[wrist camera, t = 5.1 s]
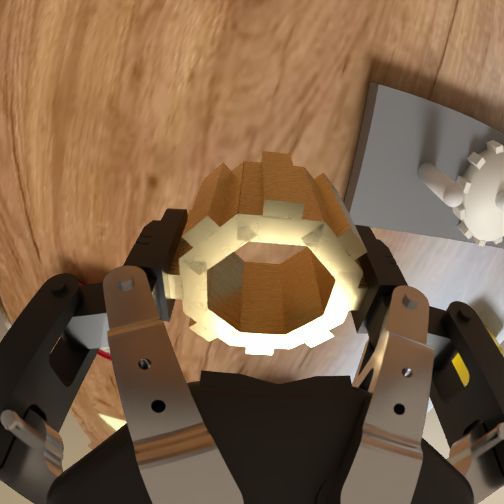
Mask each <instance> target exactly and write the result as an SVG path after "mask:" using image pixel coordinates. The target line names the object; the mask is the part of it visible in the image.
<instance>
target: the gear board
mask: <svg viewBox="0 0 504 504" xmlns="http://www.w3.org/2000/svg"><path fill="white" fill-rule="evenodd" d="M344 205H345V207H346V209H347V211H348V213H349V215H350V217H351V219H352V221H353V223H354V225H362V226H369V227H372V228H380V229H387V230H394V231H401V232H408V233H414V234H421V235H427V236H434V237H440V238H446V239H452V240H458V241H464V242H470V243H476V244H477V245H478V246H483V247H484V246H485V245H487V246H493V247H498V248H504V133H502V132H500V131H498V130H496V129H494V128H492V127H490V126H488V125H486V124H484V123H482V122H480V121H477V120H475V119H473V118H471V117H469V116H466V115H464V114H462V113H460V112H457V111H455V110H452V109H450V108H447V107H445V106H442V105H440V104H437V103H435V102H432V101H429V100H427V99H424V98H421V97H418V96H415V95H412V94H409V93H406V92H403V91H400V90H397V89H393V88H390V87H387V86H383V85H380V84H376V83H371V82H370V84H369V90H368V95H367V101H366V106H365V111H364V116H363V121H362V126H361V131H360V136H359V141H358V145H357V150H356V154H355V159H354V163H353V168H352V172H351V176H350V180H349V184H348V188H347V192H346V196H345V200H344Z"/></svg>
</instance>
